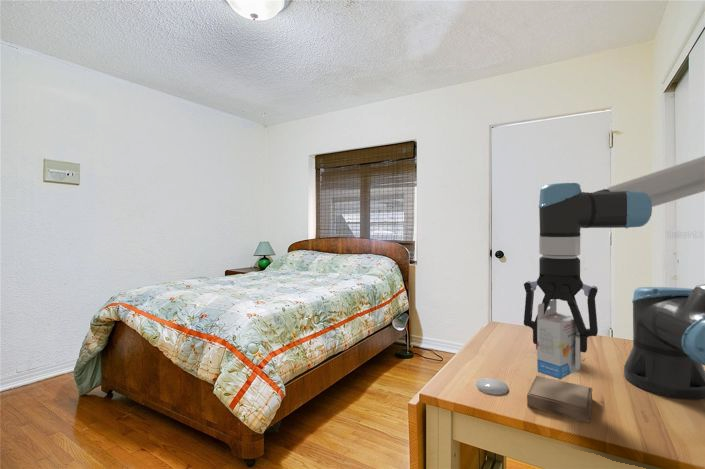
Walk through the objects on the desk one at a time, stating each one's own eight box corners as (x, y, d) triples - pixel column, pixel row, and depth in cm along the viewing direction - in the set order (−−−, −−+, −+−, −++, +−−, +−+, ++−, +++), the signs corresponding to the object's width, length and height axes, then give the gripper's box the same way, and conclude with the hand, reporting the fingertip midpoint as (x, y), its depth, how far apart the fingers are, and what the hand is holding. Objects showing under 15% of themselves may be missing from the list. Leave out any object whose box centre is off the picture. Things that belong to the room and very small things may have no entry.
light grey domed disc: (510, 386, 84) (510, 382, 84) (503, 399, 78) (503, 394, 78) (481, 379, 88) (481, 375, 88) (472, 390, 82) (472, 386, 82)
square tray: (592, 398, 76) (591, 386, 76) (589, 423, 68) (589, 409, 68) (536, 385, 83) (536, 374, 83) (527, 406, 74) (527, 393, 74)
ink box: (561, 380, 70) (560, 308, 70) (536, 372, 74) (535, 304, 74) (580, 369, 75) (579, 302, 75) (555, 362, 79) (555, 298, 79)
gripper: (615, 256, 71) (614, 366, 72) (514, 253, 83) (515, 348, 84) (615, 260, 65) (614, 380, 66) (507, 256, 77) (507, 358, 78)
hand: (559, 362), depth 75 cm, fingers closed on ink box, 6 cm apart
